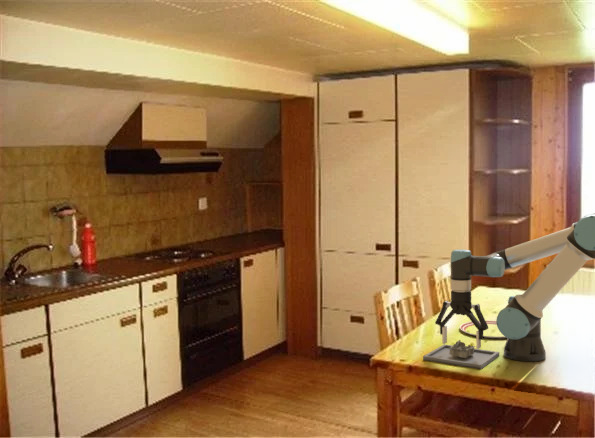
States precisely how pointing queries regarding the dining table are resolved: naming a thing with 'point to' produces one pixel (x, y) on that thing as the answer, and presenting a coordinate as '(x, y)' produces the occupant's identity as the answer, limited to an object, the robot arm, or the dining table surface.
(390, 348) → the dining table surface
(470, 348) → the egg carton
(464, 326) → the striped ring
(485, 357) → the holder tray
